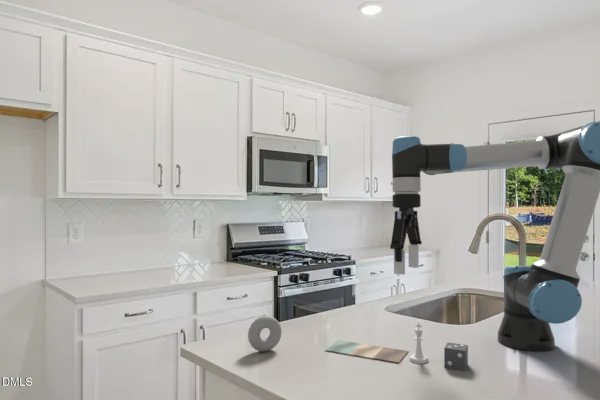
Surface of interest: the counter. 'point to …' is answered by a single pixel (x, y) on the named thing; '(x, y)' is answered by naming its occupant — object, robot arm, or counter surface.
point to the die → (456, 356)
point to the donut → (272, 339)
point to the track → (368, 351)
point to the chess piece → (418, 348)
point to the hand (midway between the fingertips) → (406, 270)
